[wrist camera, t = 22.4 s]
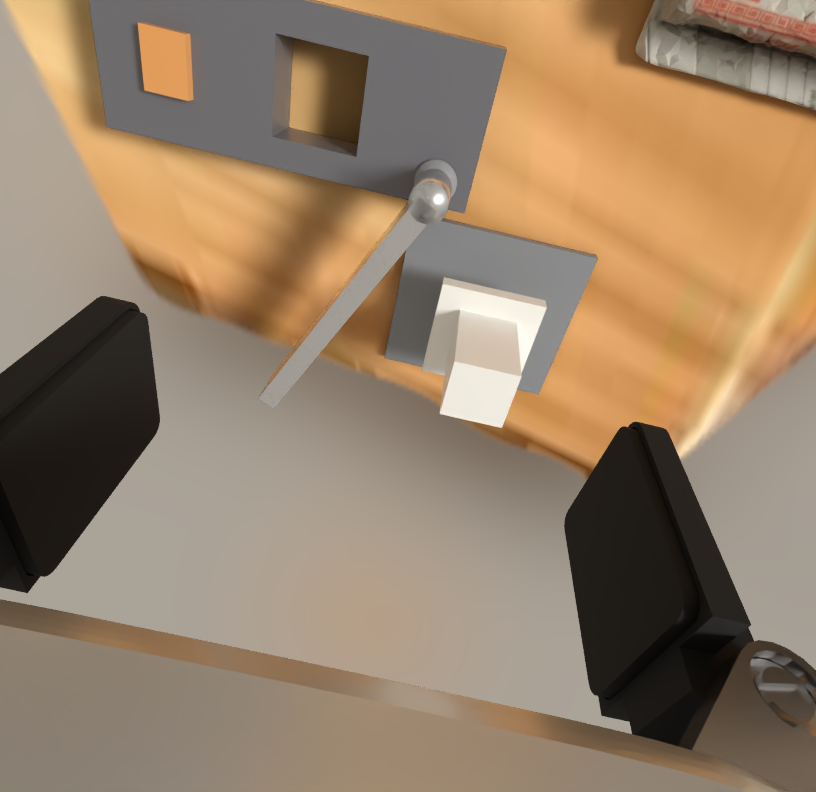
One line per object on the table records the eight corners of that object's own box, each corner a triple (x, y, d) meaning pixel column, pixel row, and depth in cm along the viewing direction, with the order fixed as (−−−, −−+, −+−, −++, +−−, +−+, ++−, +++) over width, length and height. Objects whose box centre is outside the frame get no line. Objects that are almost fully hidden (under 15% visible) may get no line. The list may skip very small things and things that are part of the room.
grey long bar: (292, 386, 37) (278, 411, 35) (268, 370, 37) (252, 395, 34) (459, 186, 28) (456, 201, 25) (431, 160, 27) (425, 174, 25)
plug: (427, 342, 38) (410, 426, 30) (447, 260, 34) (434, 332, 26) (512, 361, 38) (518, 451, 30) (541, 281, 34) (557, 360, 26)
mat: (385, 353, 40) (384, 357, 39) (414, 211, 33) (413, 214, 33) (537, 389, 40) (538, 394, 39) (596, 255, 33) (597, 258, 33)
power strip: (135, 118, 32) (100, 128, 29) (117, -49, 27) (72, -57, 24) (466, 198, 32) (463, 216, 29) (505, 47, 28) (507, 50, 25)
